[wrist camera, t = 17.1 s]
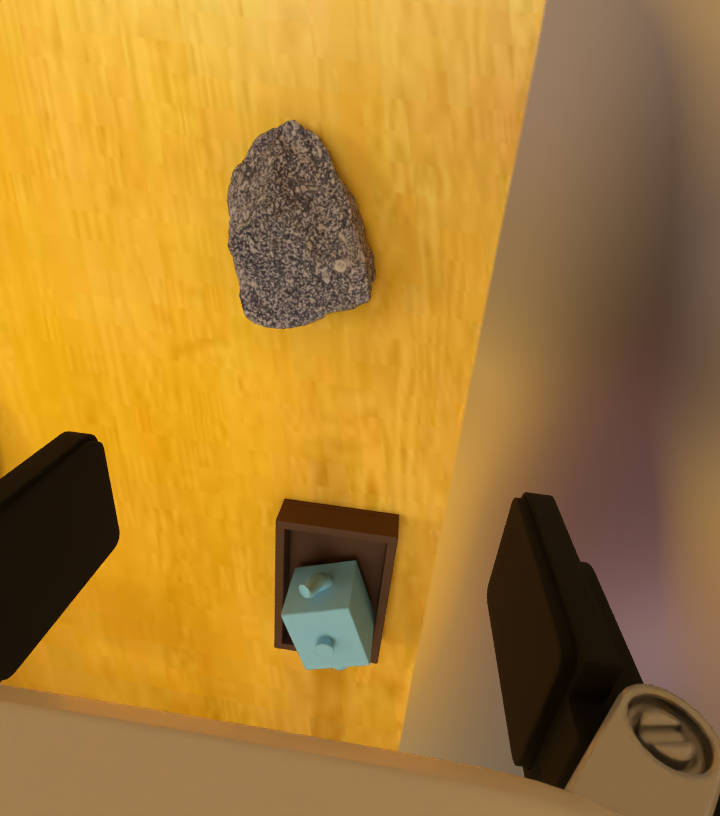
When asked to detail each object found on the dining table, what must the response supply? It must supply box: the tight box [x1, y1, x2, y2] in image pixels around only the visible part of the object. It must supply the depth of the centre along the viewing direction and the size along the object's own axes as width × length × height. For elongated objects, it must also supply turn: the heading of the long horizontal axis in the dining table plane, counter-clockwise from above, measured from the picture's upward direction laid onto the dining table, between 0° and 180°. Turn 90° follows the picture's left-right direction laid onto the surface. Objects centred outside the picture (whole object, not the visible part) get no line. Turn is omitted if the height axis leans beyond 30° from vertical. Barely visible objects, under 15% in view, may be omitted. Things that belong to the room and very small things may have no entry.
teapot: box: [281, 560, 375, 670], centre depth 43 cm, size 12×6×8 cm, turn 15°
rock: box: [227, 120, 376, 329], centre depth 31 cm, size 12×5×10 cm
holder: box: [274, 499, 399, 663], centre depth 46 cm, size 17×11×3 cm, turn 175°
